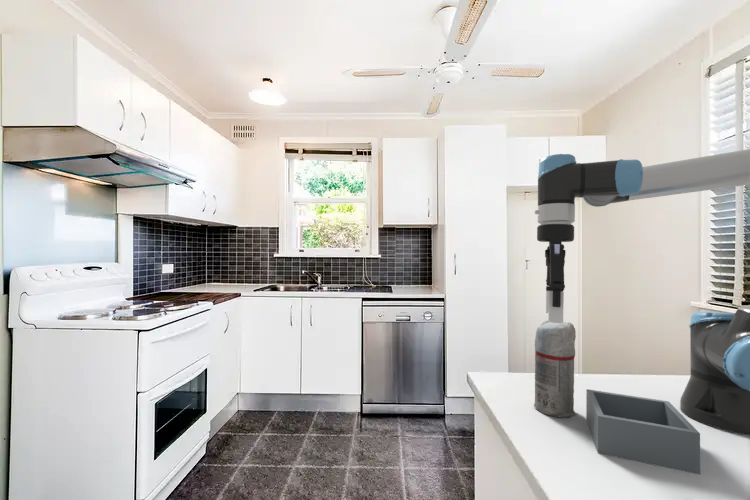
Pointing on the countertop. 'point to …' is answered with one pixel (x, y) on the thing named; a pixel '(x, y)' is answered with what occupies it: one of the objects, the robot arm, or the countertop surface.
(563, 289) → the robot arm
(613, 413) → the bin
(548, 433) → the countertop surface
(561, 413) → the white paper tall sack
